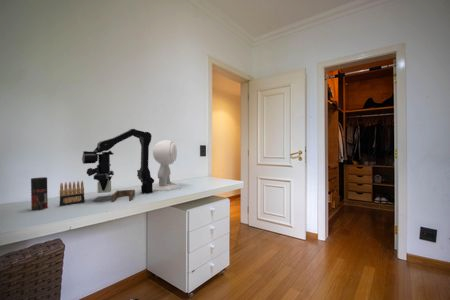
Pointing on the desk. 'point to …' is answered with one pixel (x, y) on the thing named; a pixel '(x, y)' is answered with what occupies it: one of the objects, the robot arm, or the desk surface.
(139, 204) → the desk surface
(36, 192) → the black red box
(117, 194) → the frame
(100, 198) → the mat
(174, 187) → the big headed doll
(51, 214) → the desk surface
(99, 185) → the block
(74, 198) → the ammunition clip
